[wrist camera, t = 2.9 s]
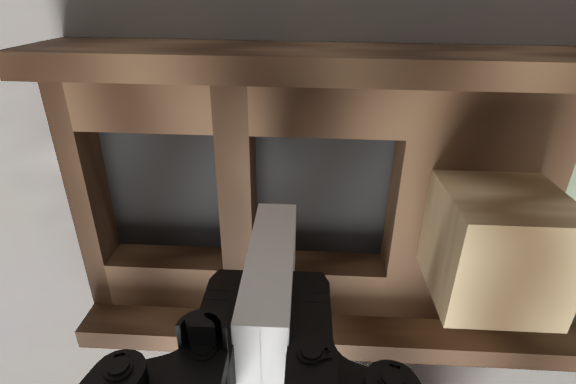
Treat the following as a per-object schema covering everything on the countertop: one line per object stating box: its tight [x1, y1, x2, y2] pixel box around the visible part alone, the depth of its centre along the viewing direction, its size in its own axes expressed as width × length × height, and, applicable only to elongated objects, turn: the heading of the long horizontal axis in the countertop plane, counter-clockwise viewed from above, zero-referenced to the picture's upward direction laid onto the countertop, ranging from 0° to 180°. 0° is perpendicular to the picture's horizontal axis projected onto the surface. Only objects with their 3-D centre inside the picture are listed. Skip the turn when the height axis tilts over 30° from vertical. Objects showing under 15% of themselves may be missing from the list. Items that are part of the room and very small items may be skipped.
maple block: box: [416, 170, 576, 334], centre depth 16 cm, size 4×4×4 cm
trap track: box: [0, 37, 576, 372], centre depth 18 cm, size 30×14×6 cm, turn 89°
